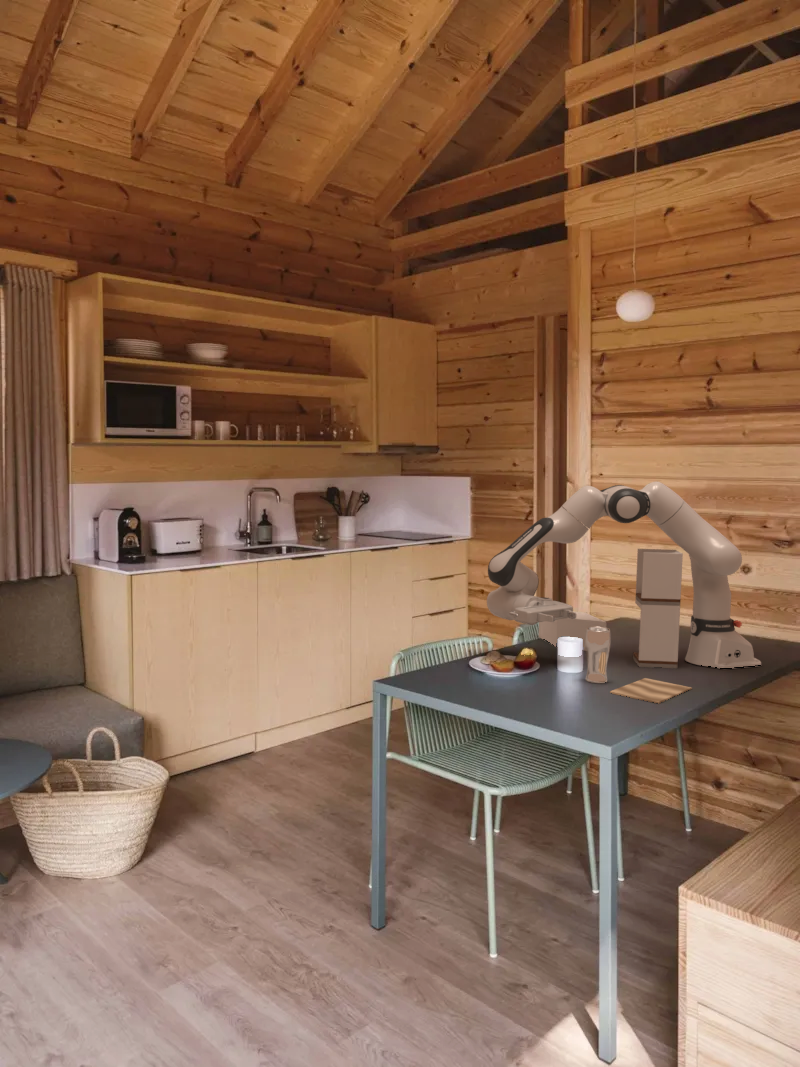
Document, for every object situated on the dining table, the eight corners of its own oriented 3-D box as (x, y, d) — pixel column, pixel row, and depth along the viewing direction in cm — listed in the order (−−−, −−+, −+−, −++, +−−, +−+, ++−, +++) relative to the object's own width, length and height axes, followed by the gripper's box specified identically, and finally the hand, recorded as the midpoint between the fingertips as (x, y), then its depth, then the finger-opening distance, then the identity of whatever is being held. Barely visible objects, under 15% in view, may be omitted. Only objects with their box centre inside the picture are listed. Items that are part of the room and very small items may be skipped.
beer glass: (612, 679, 249) (614, 628, 247) (604, 685, 243) (606, 632, 241) (588, 676, 252) (590, 625, 251) (580, 681, 246) (582, 629, 245)
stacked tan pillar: (670, 660, 274) (675, 549, 271) (677, 668, 263) (682, 553, 260) (633, 658, 275) (637, 548, 272) (638, 666, 265) (643, 552, 261)
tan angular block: (552, 634, 310) (553, 606, 309) (619, 650, 287) (620, 619, 286) (524, 639, 301) (525, 610, 300) (590, 656, 278) (592, 624, 277)
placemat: (644, 679, 249) (644, 678, 249) (691, 689, 240) (691, 687, 240) (609, 693, 235) (610, 691, 235) (658, 703, 225) (658, 702, 225)
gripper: (506, 602, 259) (540, 610, 249) (552, 597, 272) (587, 604, 261) (505, 623, 260) (539, 631, 249) (551, 617, 273) (585, 624, 262)
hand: (564, 617), depth 255 cm, fingers open, 8 cm apart
